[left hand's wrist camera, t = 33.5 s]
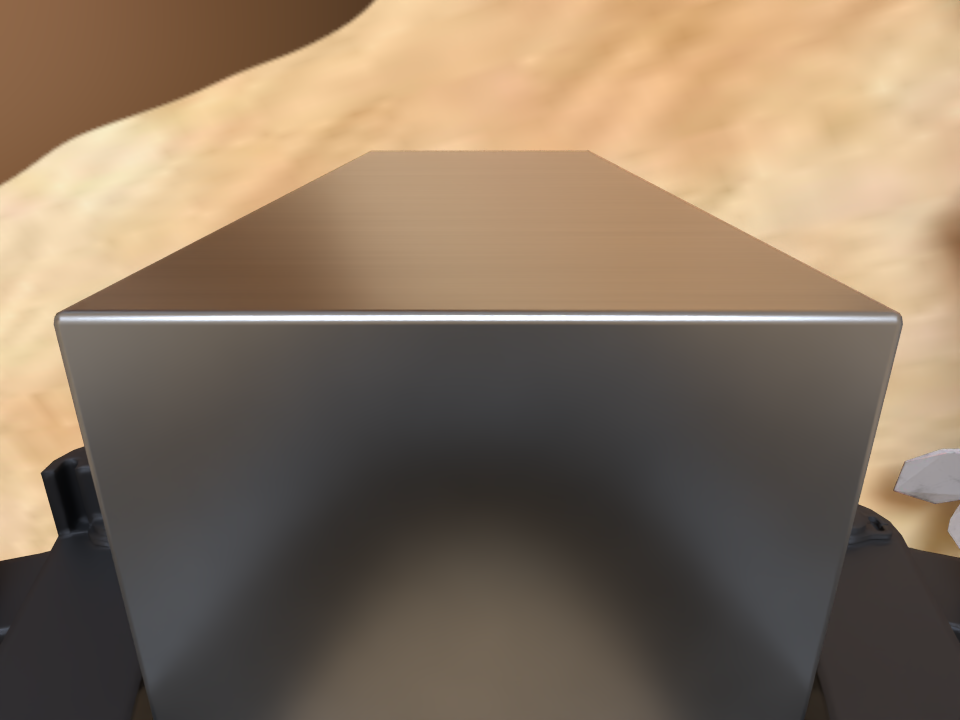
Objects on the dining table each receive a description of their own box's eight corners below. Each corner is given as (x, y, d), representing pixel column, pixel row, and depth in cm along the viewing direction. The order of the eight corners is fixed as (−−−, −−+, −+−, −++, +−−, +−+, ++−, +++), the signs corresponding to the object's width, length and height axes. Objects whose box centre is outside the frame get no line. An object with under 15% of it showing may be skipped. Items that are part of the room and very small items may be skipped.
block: (368, 150, 15) (43, 312, 4) (591, 150, 15) (912, 312, 4) (388, 479, 18) (242, 1087, 7) (572, 479, 18) (716, 1088, 7)
